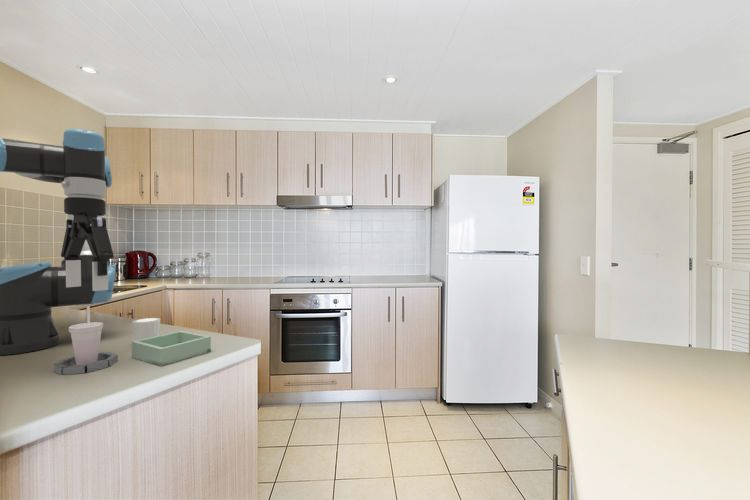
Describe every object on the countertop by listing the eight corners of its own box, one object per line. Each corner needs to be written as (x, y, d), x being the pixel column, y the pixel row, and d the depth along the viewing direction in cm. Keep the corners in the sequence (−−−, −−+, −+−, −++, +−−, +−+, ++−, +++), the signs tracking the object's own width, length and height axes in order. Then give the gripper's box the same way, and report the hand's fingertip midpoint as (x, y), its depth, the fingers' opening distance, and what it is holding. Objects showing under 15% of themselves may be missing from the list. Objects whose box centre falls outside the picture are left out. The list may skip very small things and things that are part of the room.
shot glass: (150, 347, 97) (150, 322, 97) (126, 347, 98) (126, 322, 97) (166, 340, 104) (165, 317, 104) (143, 340, 104) (143, 317, 104)
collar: (47, 368, 81) (47, 362, 81) (102, 355, 90) (102, 349, 90) (67, 377, 75) (67, 370, 75) (124, 362, 85) (124, 356, 85)
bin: (131, 357, 89) (131, 341, 89) (181, 344, 100) (181, 330, 100) (160, 366, 82) (160, 349, 82) (210, 351, 94) (210, 336, 94)
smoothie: (110, 361, 86) (110, 304, 85) (86, 371, 79) (86, 309, 79) (86, 360, 86) (86, 304, 86) (61, 370, 80) (60, 308, 80)
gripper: (42, 199, 85) (44, 287, 85) (91, 192, 73) (92, 294, 73) (80, 202, 91) (81, 284, 92) (130, 196, 79) (131, 290, 80)
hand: (86, 288), depth 82 cm, fingers open, 13 cm apart
